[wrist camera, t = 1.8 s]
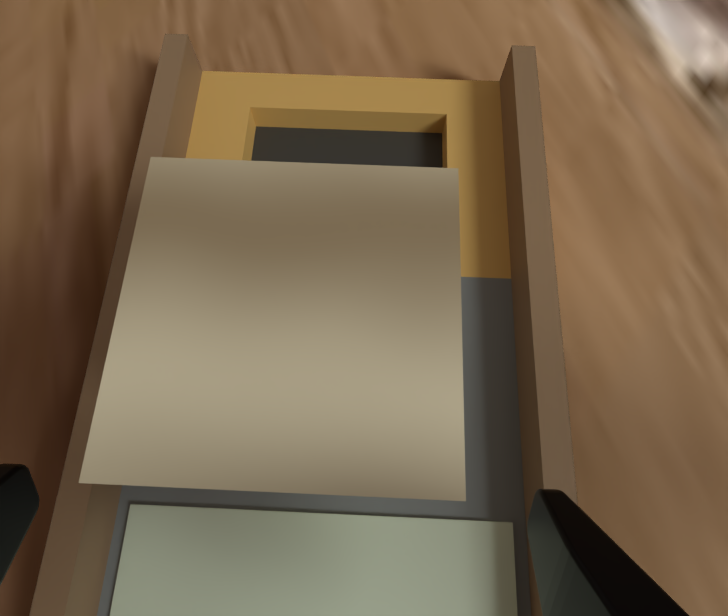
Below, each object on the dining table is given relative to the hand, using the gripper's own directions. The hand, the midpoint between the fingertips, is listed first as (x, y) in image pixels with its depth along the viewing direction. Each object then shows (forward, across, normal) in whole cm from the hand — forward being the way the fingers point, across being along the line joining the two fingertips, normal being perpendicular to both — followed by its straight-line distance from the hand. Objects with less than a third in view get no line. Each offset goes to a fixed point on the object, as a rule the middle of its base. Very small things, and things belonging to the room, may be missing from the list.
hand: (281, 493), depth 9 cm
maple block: (+8, 0, +4) cm, 9 cm away
